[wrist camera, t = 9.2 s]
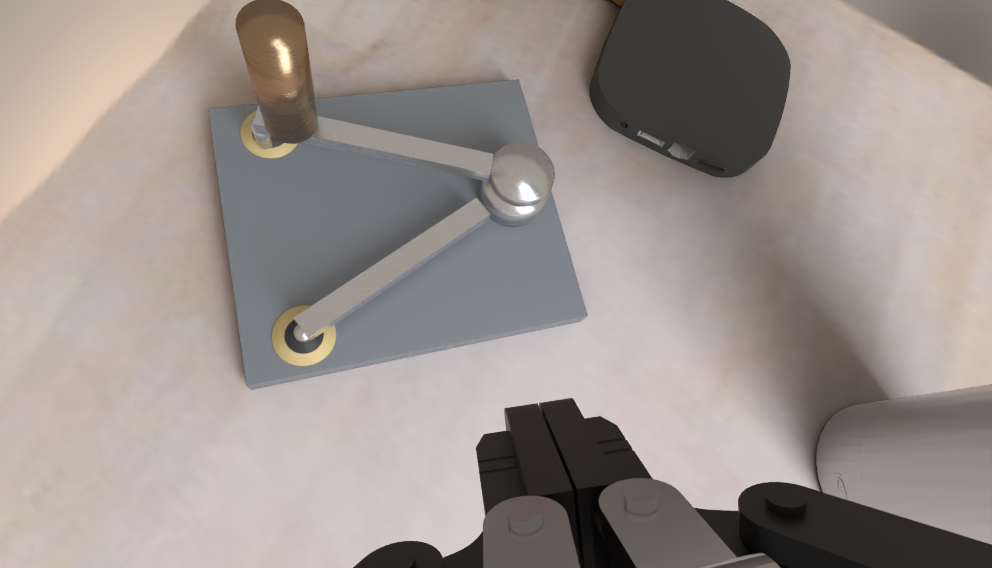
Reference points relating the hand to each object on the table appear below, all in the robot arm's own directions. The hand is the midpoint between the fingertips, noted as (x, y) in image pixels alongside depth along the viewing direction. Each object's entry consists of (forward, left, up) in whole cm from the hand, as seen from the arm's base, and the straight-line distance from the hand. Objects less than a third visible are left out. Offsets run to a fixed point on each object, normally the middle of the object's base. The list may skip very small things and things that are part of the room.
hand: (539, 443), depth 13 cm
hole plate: (-5, -15, -25) cm, 29 cm away
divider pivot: (-6, -12, -23) cm, 27 cm away
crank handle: (-7, -17, -23) cm, 29 cm away
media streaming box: (-31, -16, -25) cm, 44 cm away
